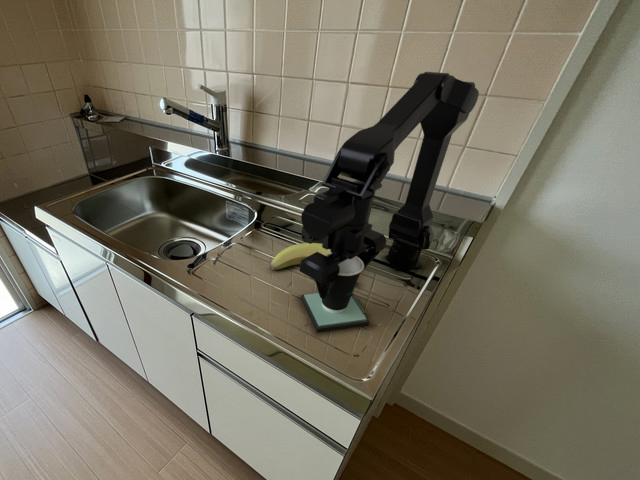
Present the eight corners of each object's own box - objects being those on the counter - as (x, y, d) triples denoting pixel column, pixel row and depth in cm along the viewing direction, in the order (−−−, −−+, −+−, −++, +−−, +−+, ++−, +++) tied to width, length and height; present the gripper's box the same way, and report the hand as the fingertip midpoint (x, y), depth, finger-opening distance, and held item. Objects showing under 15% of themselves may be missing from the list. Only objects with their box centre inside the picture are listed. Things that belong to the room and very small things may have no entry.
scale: (349, 292, 78) (350, 287, 77) (370, 325, 69) (372, 320, 68) (300, 299, 76) (301, 293, 75) (316, 333, 68) (317, 327, 67)
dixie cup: (311, 294, 75) (317, 252, 68) (347, 293, 75) (357, 250, 68) (319, 319, 69) (326, 275, 62) (358, 317, 69) (369, 273, 62)
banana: (301, 226, 87) (371, 262, 78) (301, 241, 92) (367, 276, 83) (267, 258, 83) (337, 300, 74) (268, 272, 87) (335, 313, 78)
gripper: (346, 190, 68) (334, 256, 78) (280, 219, 59) (276, 289, 69) (397, 208, 61) (377, 277, 71) (330, 243, 52) (318, 317, 62)
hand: (337, 288), depth 69 cm, fingers open, 9 cm apart
